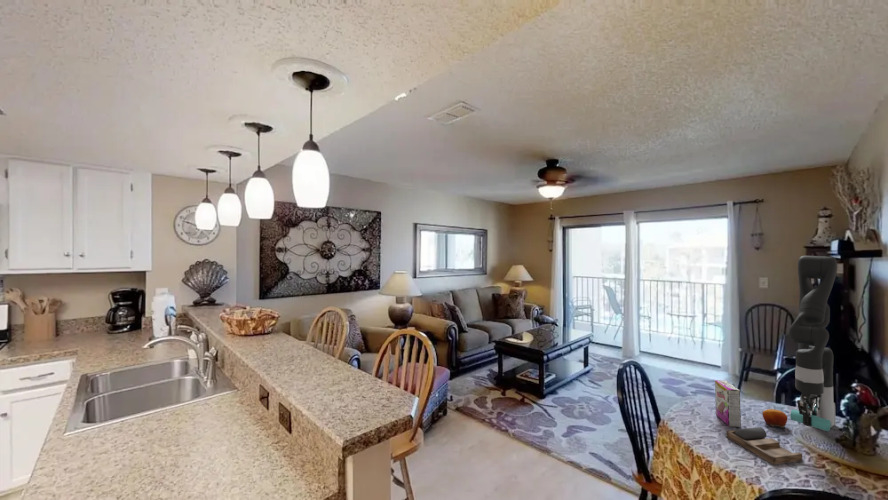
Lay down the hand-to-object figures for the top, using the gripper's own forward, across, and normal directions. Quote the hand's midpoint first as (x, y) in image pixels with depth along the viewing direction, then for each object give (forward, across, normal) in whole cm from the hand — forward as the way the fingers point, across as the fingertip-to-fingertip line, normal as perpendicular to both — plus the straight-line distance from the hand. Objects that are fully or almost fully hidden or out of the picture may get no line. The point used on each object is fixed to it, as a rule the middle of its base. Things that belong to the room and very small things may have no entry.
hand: (810, 423), depth 138 cm
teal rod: (+1, 0, 0) cm, 1 cm away
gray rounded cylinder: (+11, +8, -15) cm, 20 cm away
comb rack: (+11, +10, -11) cm, 19 cm away
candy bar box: (+12, -2, -28) cm, 31 cm away
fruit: (+12, -15, -16) cm, 25 cm away
